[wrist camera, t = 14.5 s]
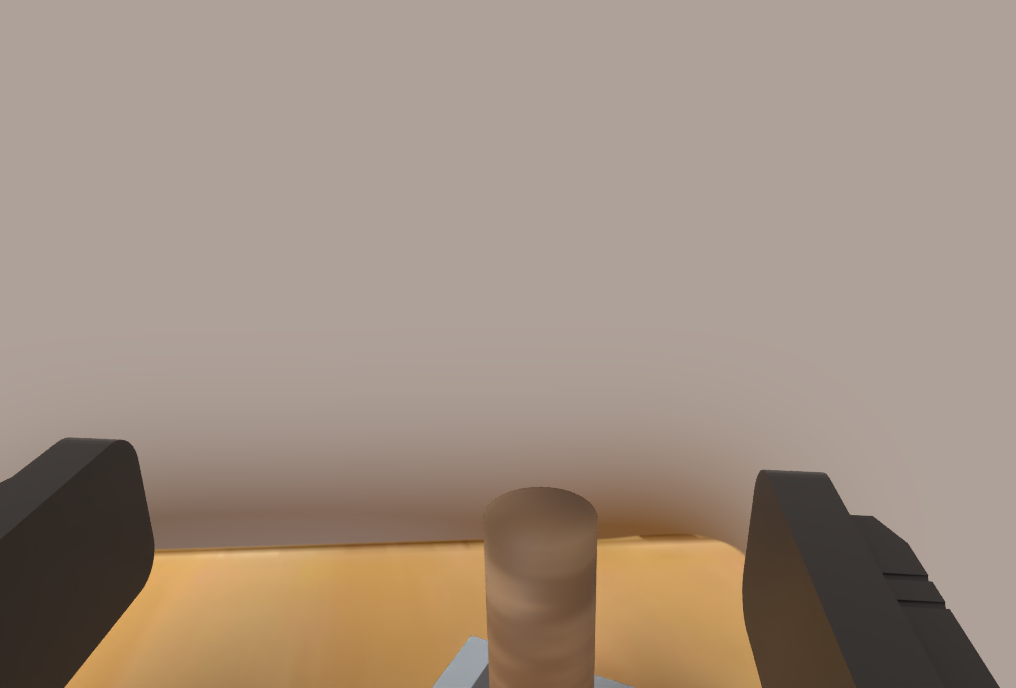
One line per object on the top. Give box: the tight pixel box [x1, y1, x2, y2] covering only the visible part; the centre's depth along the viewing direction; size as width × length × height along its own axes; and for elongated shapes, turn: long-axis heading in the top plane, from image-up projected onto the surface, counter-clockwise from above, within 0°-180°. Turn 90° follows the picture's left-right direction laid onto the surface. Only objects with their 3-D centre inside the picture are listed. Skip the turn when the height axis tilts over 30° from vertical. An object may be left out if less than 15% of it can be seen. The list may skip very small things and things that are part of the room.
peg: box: [483, 487, 597, 688], centre depth 30 cm, size 4×4×15 cm
